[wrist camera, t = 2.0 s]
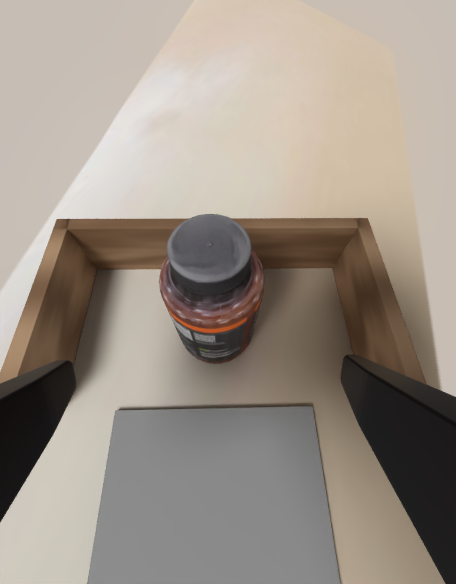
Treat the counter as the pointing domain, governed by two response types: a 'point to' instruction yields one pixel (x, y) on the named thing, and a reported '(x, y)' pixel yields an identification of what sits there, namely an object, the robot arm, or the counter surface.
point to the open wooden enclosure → (153, 251)
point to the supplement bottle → (212, 286)
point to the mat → (214, 499)
